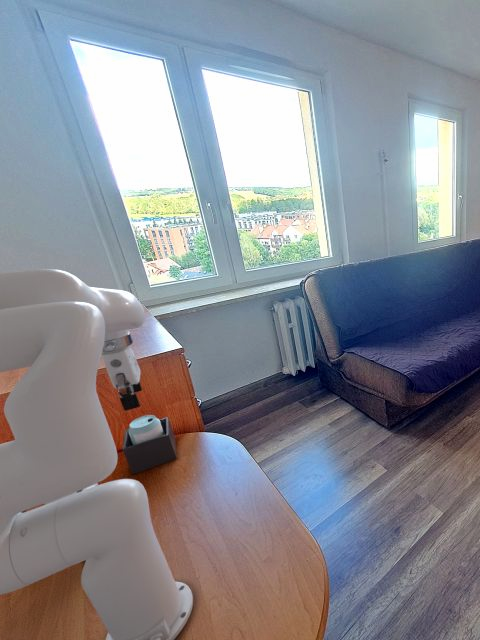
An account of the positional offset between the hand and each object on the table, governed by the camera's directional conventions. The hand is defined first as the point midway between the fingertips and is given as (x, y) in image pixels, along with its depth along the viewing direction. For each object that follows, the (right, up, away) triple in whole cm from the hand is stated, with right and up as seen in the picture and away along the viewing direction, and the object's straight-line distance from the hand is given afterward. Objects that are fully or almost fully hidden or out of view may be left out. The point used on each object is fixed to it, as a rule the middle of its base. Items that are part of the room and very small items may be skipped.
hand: (133, 399), depth 91 cm
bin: (-1, -19, +8) cm, 20 cm away
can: (0, -18, +8) cm, 20 cm away
